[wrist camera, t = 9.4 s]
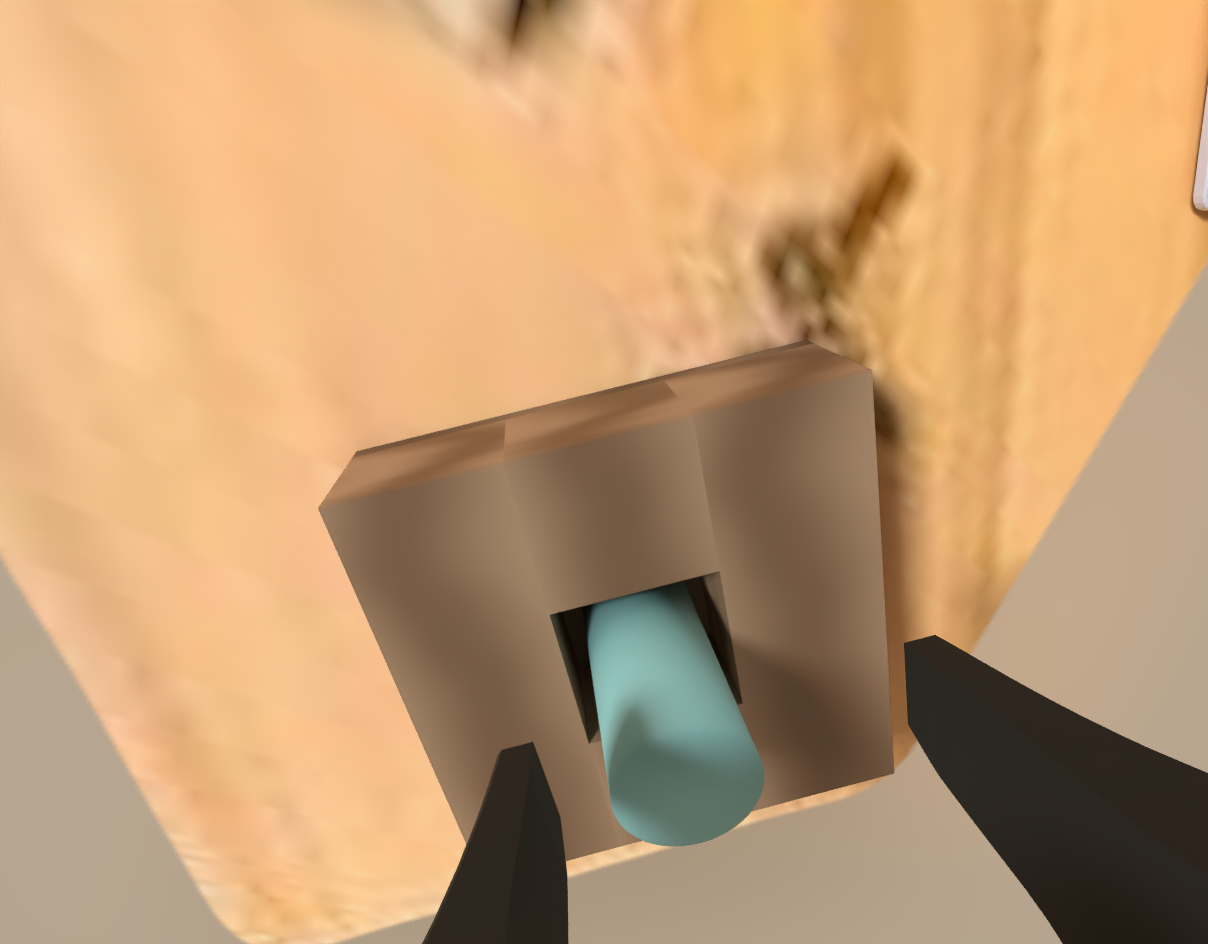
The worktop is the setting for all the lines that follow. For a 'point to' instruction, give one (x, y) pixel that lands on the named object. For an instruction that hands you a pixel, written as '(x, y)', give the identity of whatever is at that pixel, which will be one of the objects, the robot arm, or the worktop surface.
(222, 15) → the worktop surface
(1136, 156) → the worktop surface
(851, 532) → the socket block
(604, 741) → the teal pin
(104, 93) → the worktop surface
